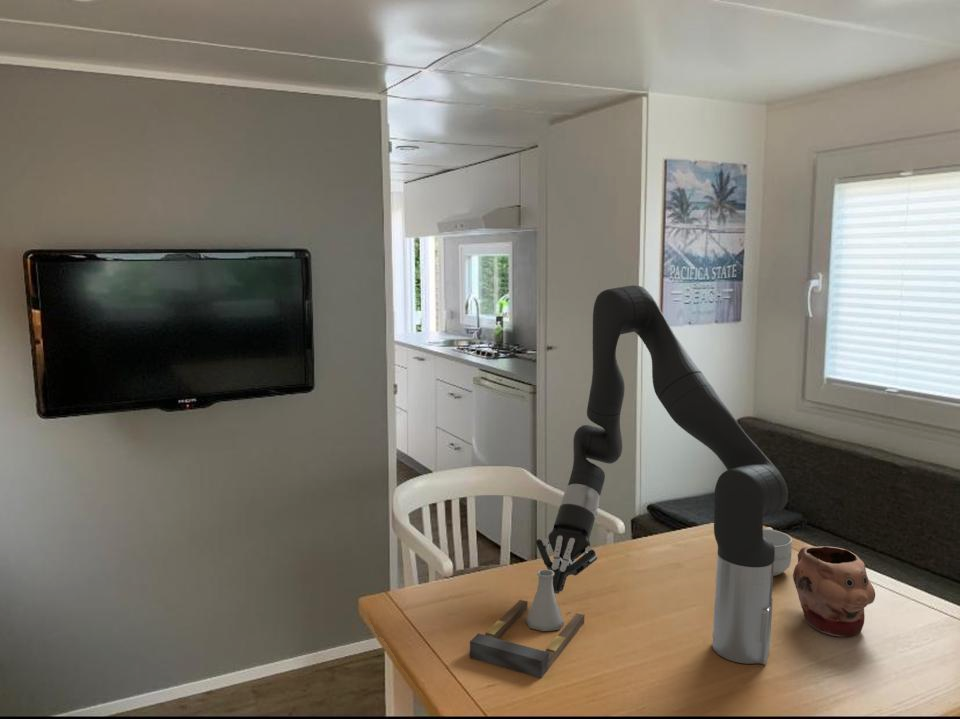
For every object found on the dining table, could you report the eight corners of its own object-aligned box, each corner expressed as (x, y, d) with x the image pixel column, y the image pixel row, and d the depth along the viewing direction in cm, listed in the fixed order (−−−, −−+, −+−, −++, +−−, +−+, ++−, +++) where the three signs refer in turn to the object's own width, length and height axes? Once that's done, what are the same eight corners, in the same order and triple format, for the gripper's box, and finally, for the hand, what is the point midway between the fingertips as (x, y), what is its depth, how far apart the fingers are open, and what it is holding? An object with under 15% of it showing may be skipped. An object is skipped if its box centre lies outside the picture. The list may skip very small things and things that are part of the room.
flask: (563, 615, 142) (565, 565, 141) (564, 633, 135) (565, 581, 134) (525, 613, 143) (526, 563, 141) (524, 631, 136) (525, 579, 134)
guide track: (584, 623, 139) (584, 607, 139) (541, 678, 120) (541, 660, 120) (519, 607, 145) (520, 592, 144) (469, 657, 126) (470, 641, 126)
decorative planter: (765, 601, 149) (769, 535, 147) (817, 595, 152) (822, 530, 150) (835, 652, 130) (841, 576, 128) (893, 644, 132) (900, 570, 131)
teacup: (782, 585, 156) (784, 549, 155) (730, 572, 163) (733, 537, 162) (799, 564, 167) (802, 530, 166) (750, 552, 174) (753, 519, 173)
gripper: (542, 497, 152) (517, 576, 142) (605, 508, 146) (582, 591, 136) (551, 514, 157) (527, 592, 148) (612, 525, 151) (590, 606, 142)
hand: (554, 591), depth 142 cm, fingers closed
